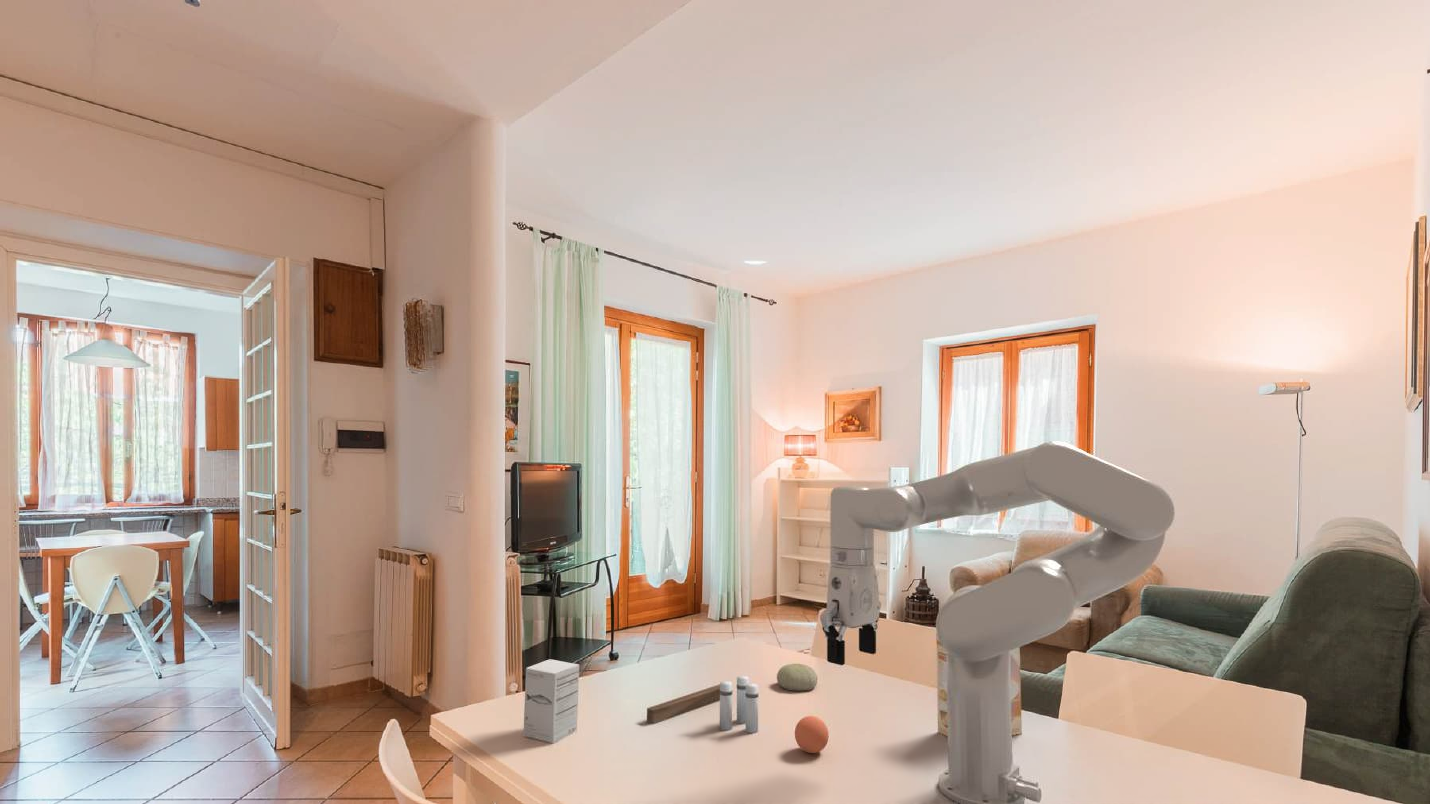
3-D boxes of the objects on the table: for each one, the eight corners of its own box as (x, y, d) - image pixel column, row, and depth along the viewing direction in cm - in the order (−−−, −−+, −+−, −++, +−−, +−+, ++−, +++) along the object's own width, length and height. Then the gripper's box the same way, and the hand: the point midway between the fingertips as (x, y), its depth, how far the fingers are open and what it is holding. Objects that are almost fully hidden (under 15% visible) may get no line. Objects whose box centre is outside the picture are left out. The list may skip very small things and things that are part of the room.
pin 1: (734, 727, 134) (735, 683, 134) (726, 731, 132) (726, 686, 133) (725, 724, 135) (725, 680, 136) (716, 727, 134) (717, 683, 134)
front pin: (760, 730, 132) (761, 685, 133) (752, 734, 131) (752, 688, 131) (751, 727, 134) (751, 682, 135) (742, 730, 132) (742, 685, 133)
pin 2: (751, 721, 137) (751, 677, 138) (743, 724, 136) (743, 680, 136) (742, 717, 139) (742, 674, 140) (733, 721, 137) (734, 677, 138)
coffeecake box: (962, 745, 126) (959, 636, 128) (936, 731, 133) (934, 628, 134) (1024, 734, 132) (1021, 630, 134) (996, 721, 138) (993, 622, 140)
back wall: (728, 697, 151) (728, 685, 152) (653, 723, 135) (653, 710, 136) (721, 695, 153) (722, 683, 153) (646, 721, 137) (646, 708, 137)
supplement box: (521, 737, 128) (524, 667, 130) (548, 724, 135) (550, 657, 136) (552, 745, 125) (554, 673, 126) (578, 731, 131) (580, 663, 133)
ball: (835, 751, 123) (835, 716, 123) (815, 762, 119) (815, 725, 119) (807, 742, 127) (807, 708, 128) (788, 751, 123) (787, 717, 123)
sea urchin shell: (820, 685, 154) (795, 658, 156) (795, 709, 155) (770, 682, 156) (822, 673, 163) (798, 647, 165) (798, 696, 164) (775, 670, 165)
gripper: (842, 564, 112) (842, 673, 110) (896, 555, 124) (897, 653, 123) (804, 559, 117) (804, 663, 116) (860, 551, 129) (860, 644, 128)
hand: (852, 657), depth 119 cm, fingers open, 9 cm apart
